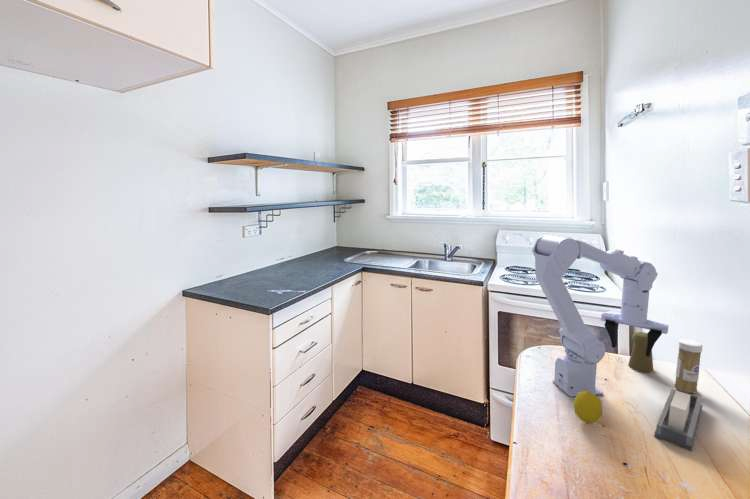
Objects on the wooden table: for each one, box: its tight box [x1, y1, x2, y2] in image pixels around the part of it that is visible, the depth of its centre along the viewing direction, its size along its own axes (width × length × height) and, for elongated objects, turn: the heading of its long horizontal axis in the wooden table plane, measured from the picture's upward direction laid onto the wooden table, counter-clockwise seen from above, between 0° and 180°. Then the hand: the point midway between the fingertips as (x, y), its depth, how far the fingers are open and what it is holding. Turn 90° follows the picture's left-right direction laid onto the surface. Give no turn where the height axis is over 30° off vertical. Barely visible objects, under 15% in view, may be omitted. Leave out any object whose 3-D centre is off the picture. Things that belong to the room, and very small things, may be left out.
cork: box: [627, 331, 654, 374], centre depth 101 cm, size 6×6×11 cm
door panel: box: [668, 390, 691, 432], centre depth 74 cm, size 8×2×6 cm, turn 131°
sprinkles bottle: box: [674, 338, 703, 394], centre depth 89 cm, size 5×5×13 cm
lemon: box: [573, 391, 603, 424], centre depth 77 cm, size 6×6×8 cm
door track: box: [653, 388, 703, 452], centre depth 77 cm, size 20×6×3 cm, turn 131°
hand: (630, 350), depth 93 cm, fingers open, 7 cm apart
